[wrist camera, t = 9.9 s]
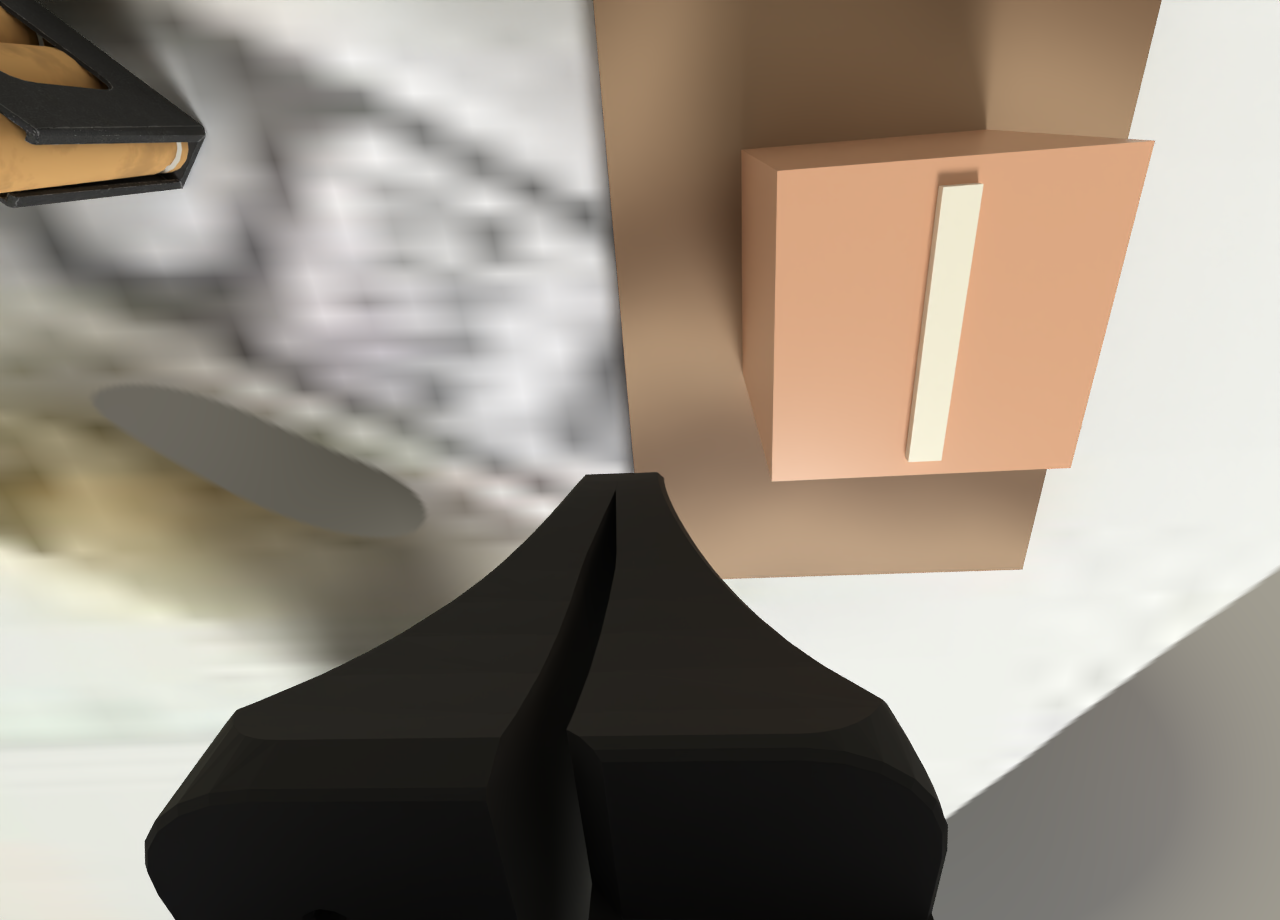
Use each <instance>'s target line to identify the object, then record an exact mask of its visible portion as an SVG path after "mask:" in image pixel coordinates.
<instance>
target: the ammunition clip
mask: <svg viewBox="0 0 1280 920" xmlns="http://www.w3.org/2000/svg"><path fill="white" fill-rule="evenodd" d="M205 136H206V135H205V132H204V130H203V126H202V125H200V124H199V123H198V122H196V121H195V120H194V119H192V118H191V117H190V116H188V115H187V114H186V113H184V112H183V111H182V110H180V109H179V108H178V107H176V106H175V105H174V104H172V103H171V102H170V101H168V100H167V99H166V98H164V97H163V96H162V95H160V94H159V93H158V92H156V91H155V90H154V89H152V88H151V87H150V86H148V85H147V84H145V83H144V82H143V81H141V80H140V79H139V78H137V77H136V76H135V75H133V74H132V73H131V72H129V71H128V70H127V69H125V68H124V67H123V66H121V65H120V64H119V63H117V62H116V61H115V60H113V59H112V58H111V57H109V56H108V55H107V54H105V53H104V52H103V51H101V50H100V49H99V48H97V47H96V46H95V45H93V44H92V43H91V42H89V41H88V40H87V39H85V38H84V37H83V36H81V35H80V34H79V33H77V32H76V31H75V30H73V29H72V28H71V27H69V26H68V25H67V24H65V23H64V22H63V21H61V20H60V19H59V18H57V17H56V16H55V15H53V14H52V13H51V12H49V11H48V10H47V9H45V8H44V7H43V6H41V5H40V4H39V3H37V2H36V1H34V0H0V201H1V202H2V203H4V204H5V205H7V206H9V207H12V208H16V207H25V206H33V205H42V204H51V203H60V202H68V201H77V200H86V199H94V198H103V197H112V196H120V195H129V194H138V193H146V192H155V191H164V190H173V189H181V188H183V186H184V184H185V181H186V179H187V177H188V175H189V172H190V170H191V168H192V165H193V163H194V161H195V159H196V156H197V154H198V152H199V150H200V147H201V145H202V143H203V140H204V138H205Z"/></svg>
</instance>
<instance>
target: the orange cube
mask: <svg viewBox="0 0 1280 920" xmlns="http://www.w3.org/2000/svg"><path fill="white" fill-rule="evenodd" d="M1154 142H1155V141H1151V140H1136V139H1121V138H1107V137H1092V136H1077V135H1062V134H1047V133H1032V132H1017V131H1002V130H987V129H986V130H974V131H962V132H949V133H937V134H925V135H913V136H901V137H889V138H877V139H865V140H852V141H840V142H828V143H816V144H804V145H792V146H780V147H768V148H755V149H743V150H741V189H742V372H743V377H744V381H745V384H746V388H747V392H748V395H749V399H750V403H751V406H752V410H753V414H754V418H755V421H756V425H757V429H758V432H759V436H760V440H761V443H762V447H763V451H764V455H765V458H766V462H767V466H768V469H769V473H770V477H771V480H772V482H773V481H795V480H817V479H838V478H860V477H882V476H903V475H925V474H947V473H968V472H990V471H1012V470H1033V469H1055V468H1071V464H1072V460H1073V456H1074V452H1075V448H1076V445H1077V441H1078V437H1079V433H1080V429H1081V425H1082V421H1083V417H1084V414H1085V410H1086V406H1087V402H1088V398H1089V394H1090V390H1091V386H1092V383H1093V379H1094V375H1095V371H1096V367H1097V363H1098V359H1099V355H1100V351H1101V348H1102V344H1103V340H1104V336H1105V332H1106V328H1107V324H1108V320H1109V317H1110V313H1111V309H1112V305H1113V301H1114V297H1115V293H1116V289H1117V286H1118V282H1119V278H1120V274H1121V270H1122V266H1123V262H1124V258H1125V254H1126V251H1127V247H1128V243H1129V239H1130V235H1131V231H1132V227H1133V223H1134V220H1135V216H1136V212H1137V208H1138V204H1139V200H1140V196H1141V192H1142V188H1143V185H1144V181H1145V177H1146V173H1147V169H1148V165H1149V161H1150V157H1151V154H1152V150H1153V146H1154Z"/></svg>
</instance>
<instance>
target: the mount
mask: <svg viewBox="0 0 1280 920" xmlns="http://www.w3.org/2000/svg"><path fill="white" fill-rule="evenodd" d="M593 5H594V16H595V27H596V39H597V50H598V62H599V73H600V85H601V96H602V107H603V119H604V130H605V142H606V153H607V165H608V176H609V187H610V199H611V210H612V222H613V233H614V245H615V256H616V267H617V279H618V290H619V302H620V313H621V325H622V336H623V347H624V359H625V370H626V382H627V393H628V405H629V416H630V428H631V439H632V450H633V462H634V473H645V472H658V473H659V474H660V475H661V476H662V477H664V483H665V487H666V490H667V493H668V496H669V498H670V501H671V503H672V505H673V507H674V509H675V511H676V513H677V515H678V517H679V519H680V520H681V522H682V524H683V525H684V527H685V529H686V530H687V532H688V534H689V535H690V537H691V539H692V540H693V542H694V543H695V545H696V546H697V548H698V549H699V550H700V552H701V553H702V554H703V556H704V557H705V559H706V560H707V561H708V563H709V564H710V565H711V566H712V568H713V569H714V570H715V572H716V573H717V574H718V575H719V576H720V578H721V579H737V578H769V577H800V576H832V575H863V574H894V573H926V572H957V571H989V570H1020V569H1023V564H1024V560H1025V556H1026V552H1027V548H1028V544H1029V540H1030V536H1031V532H1032V528H1033V524H1034V520H1035V515H1036V511H1037V507H1038V503H1039V499H1040V495H1041V491H1042V487H1043V483H1044V479H1045V475H1046V470H1047V469H1033V470H1012V471H990V472H968V473H947V474H925V475H903V476H882V477H860V478H838V479H817V480H795V481H773V482H772V480H771V477H770V473H769V469H768V466H767V462H766V458H765V455H764V451H763V447H762V443H761V440H760V436H759V432H758V429H757V425H756V421H755V418H754V414H753V410H752V406H751V403H750V399H749V395H748V392H747V388H746V384H745V381H744V377H743V372H742V189H741V150H743V149H755V148H768V147H780V146H792V145H804V144H816V143H828V142H840V141H852V140H865V139H877V138H889V137H901V136H913V135H925V134H937V133H949V132H962V131H974V130H986V129H987V130H1002V131H1017V132H1032V133H1047V134H1062V135H1077V136H1092V137H1107V138H1121V139H1128V135H1129V131H1130V127H1131V123H1132V119H1133V115H1134V111H1135V107H1136V103H1137V99H1138V94H1139V90H1140V86H1141V82H1142V78H1143V74H1144V70H1145V66H1146V62H1147V58H1148V54H1149V49H1150V45H1151V41H1152V37H1153V33H1154V29H1155V25H1156V21H1157V17H1158V13H1159V9H1160V5H1161V0H593Z"/></svg>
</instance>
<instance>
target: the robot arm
mask: <svg viewBox="0 0 1280 920" xmlns="http://www.w3.org/2000/svg"><path fill="white" fill-rule="evenodd" d="M947 832H948V824H947V822H946V820H945V818H944V815H943V811H942V808H941V805H940V802H939V799H938V797H937V794H936V792H935V789H934V787H933V785H932V783H931V781H930V779H929V777H928V774H927V772H926V770H925V768H924V767H923V765H922V763H921V761H920V759H919V757H918V756H917V754H916V752H915V750H914V748H913V747H912V745H911V743H910V741H909V739H908V738H907V736H906V734H905V733H904V731H903V729H902V728H901V726H900V724H899V723H898V721H897V719H896V718H895V716H894V714H893V713H892V711H891V710H890V708H889V707H888V705H887V704H886V702H885V701H883V700H882V699H881V698H879V697H877V696H875V695H874V694H872V693H870V692H868V691H867V690H865V689H863V688H861V687H860V686H858V685H856V684H854V683H853V682H851V681H849V680H847V679H846V678H844V677H842V676H840V675H839V674H837V673H835V672H834V671H832V670H830V669H828V668H827V667H825V666H823V665H822V664H820V663H819V662H817V661H816V660H814V659H813V658H811V657H810V656H808V655H807V654H806V653H804V652H803V651H801V650H800V649H798V648H797V647H795V646H794V645H793V644H791V643H790V642H788V641H787V640H786V639H785V638H784V637H782V636H781V635H780V634H779V633H778V632H776V631H775V630H774V629H773V628H772V627H770V626H769V625H768V624H767V623H765V622H764V621H763V620H762V619H761V618H759V617H758V616H757V615H756V614H755V613H754V612H753V611H752V610H751V609H750V608H749V607H748V606H747V605H746V604H745V603H744V602H743V601H742V600H741V599H740V598H739V597H738V596H737V595H736V594H735V593H734V592H733V591H732V590H731V589H730V588H729V587H728V585H727V584H726V583H725V582H724V581H723V580H722V579H721V578H720V576H719V575H718V574H717V573H716V572H715V570H714V569H713V568H712V566H711V565H710V564H709V563H708V561H707V560H706V559H705V557H704V556H703V554H702V553H701V552H700V550H699V549H698V548H697V546H696V545H695V543H694V542H693V540H692V539H691V537H690V535H689V534H688V532H687V530H686V529H685V527H684V525H683V524H682V522H681V520H680V519H679V517H678V515H677V513H676V511H675V509H674V507H673V505H672V503H671V501H670V498H669V496H668V493H667V490H666V487H665V483H664V477H662V476H661V475H660V474H659V473H658V472H645V473H619V474H592V475H585V476H584V477H583V478H582V479H581V480H580V482H579V483H578V484H577V485H576V486H575V487H574V488H573V489H572V491H571V492H570V493H569V494H568V495H567V496H566V498H565V499H564V500H563V501H562V502H561V503H560V504H559V506H558V507H557V508H556V509H555V510H554V511H553V512H552V513H551V515H550V516H549V517H548V518H547V519H546V520H545V521H544V522H543V523H542V524H541V525H540V526H539V527H538V528H537V529H536V531H535V532H534V533H533V534H532V535H531V536H530V537H529V538H528V539H527V540H526V541H525V542H524V543H523V544H522V545H520V546H519V547H518V548H517V549H516V550H515V551H514V552H513V553H512V554H511V555H510V556H509V557H508V558H507V559H506V560H505V561H503V562H502V563H501V564H500V565H499V566H498V567H497V568H495V569H494V570H493V571H492V572H490V573H489V574H488V575H487V576H486V577H484V578H483V579H482V580H481V581H479V582H478V583H477V584H475V585H474V586H473V587H471V588H470V589H469V590H467V591H466V592H465V593H463V594H462V595H461V596H459V597H458V598H456V599H455V600H453V601H452V602H451V603H449V604H448V605H446V606H444V607H443V608H441V609H440V610H438V611H436V612H435V613H433V614H432V615H430V616H428V617H427V618H425V619H424V620H422V621H421V622H419V623H417V624H416V625H414V626H413V627H411V628H409V629H408V630H406V631H405V632H403V633H401V634H400V635H398V636H396V637H394V638H393V639H391V640H389V641H387V642H385V643H383V644H382V645H380V646H378V647H376V648H374V649H372V650H371V651H369V652H367V653H365V654H363V655H361V656H359V657H357V658H355V659H353V660H351V661H349V662H347V663H345V664H343V665H341V666H339V667H337V668H334V669H332V670H330V671H328V672H326V673H324V674H322V675H319V676H317V677H315V678H313V679H310V680H308V681H305V682H303V683H301V684H298V685H296V686H294V687H291V688H289V689H287V690H284V691H282V692H279V693H277V694H275V695H272V696H270V697H268V698H265V699H263V700H261V701H258V702H256V703H253V704H251V705H248V706H246V707H243V708H240V709H238V710H236V711H235V713H234V714H233V715H232V716H231V718H230V719H229V720H228V721H227V723H226V724H225V725H224V727H223V728H222V730H221V731H220V732H219V734H218V735H217V736H216V738H215V739H214V741H213V742H212V743H211V745H210V746H209V747H208V749H207V750H206V752H205V753H204V754H203V756H202V757H201V758H200V760H199V761H198V763H197V764H196V765H195V767H194V768H193V769H192V771H191V772H190V774H189V775H188V776H187V778H186V779H185V780H184V782H183V783H182V785H181V786H180V787H179V789H178V790H177V791H176V793H175V794H174V796H173V797H172V798H171V800H170V801H169V802H168V804H167V805H166V807H165V808H164V809H163V811H162V812H161V813H160V815H159V816H158V818H157V819H156V820H155V822H154V824H153V826H152V828H151V830H150V832H149V834H148V836H147V838H146V840H145V865H146V868H147V872H148V874H149V877H150V879H151V881H152V883H153V885H154V887H155V889H156V891H157V893H158V895H159V897H160V898H161V900H162V901H163V903H164V904H165V905H166V907H167V908H168V910H169V911H170V913H171V914H172V916H173V917H174V919H175V920H934V919H933V916H932V909H933V905H934V901H935V897H936V893H937V889H938V885H939V881H940V876H941V873H942V869H943V864H944V861H945V856H946V852H947V834H948V833H947Z"/></svg>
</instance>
